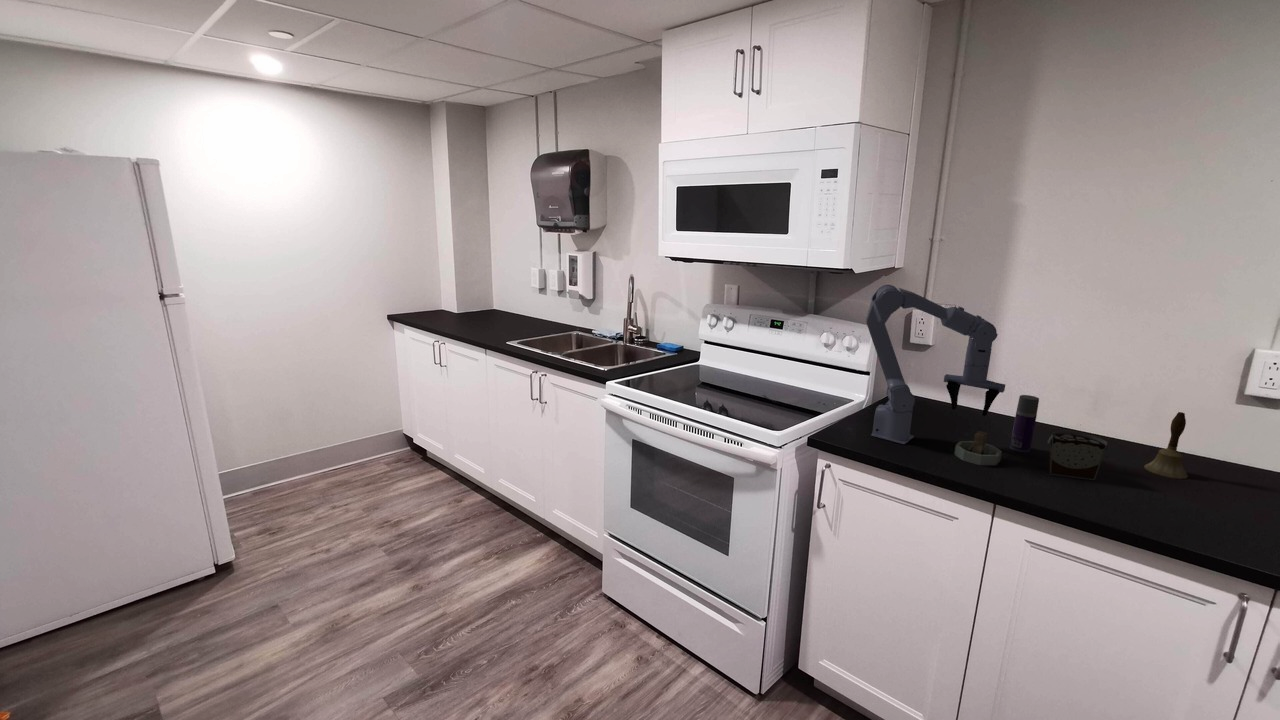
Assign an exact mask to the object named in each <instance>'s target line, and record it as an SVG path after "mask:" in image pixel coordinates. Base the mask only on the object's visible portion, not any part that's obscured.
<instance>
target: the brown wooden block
mask: <svg viewBox="0 0 1280 720" xmlns="http://www.w3.org/2000/svg"><path fill="white" fill-rule="evenodd" d="M987 439H988V432H986V431H984V430H983V431H982V430H978V431H977V432H976V433H975V434H974V438H973V441H974V443H973V449H972V453H976V454H980V455H983V453H984V450H985V444H987Z"/></svg>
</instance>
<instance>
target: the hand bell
mask: <svg viewBox="0 0 1280 720" xmlns="http://www.w3.org/2000/svg"><path fill="white" fill-rule="evenodd" d="M1186 424H1187V420H1186V413H1185V412H1183V411H1182V412H1180V411H1178V412H1177V413H1176V415H1175V416H1174V417H1173V419H1172V420H1171V424H1170V438H1169V441H1168V445H1167V447H1166V448H1161V449H1159V450H1158V452H1157V454H1156V456H1155V458H1154V459H1153V460H1151V462H1149V463H1146V464H1145V465H1144V469H1145V470H1146V471H1148V472H1149V473H1151V474H1154V475H1157V476H1161V477H1162V478H1169V479H1174V480H1185V479H1188V477H1189V476H1188V473H1187V472H1186V471H1185V470H1184V467H1183V454H1182V453H1181V452H1179V451H1177V450H1178V449H1177V448H1178V445H1179V440H1180V437H1181V435H1182V434H1183V433H1184V430H1185V428H1186Z"/></svg>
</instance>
